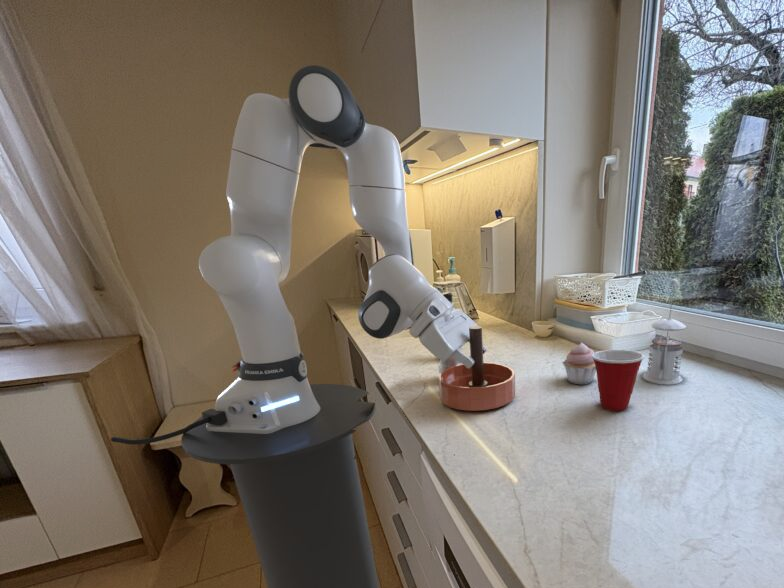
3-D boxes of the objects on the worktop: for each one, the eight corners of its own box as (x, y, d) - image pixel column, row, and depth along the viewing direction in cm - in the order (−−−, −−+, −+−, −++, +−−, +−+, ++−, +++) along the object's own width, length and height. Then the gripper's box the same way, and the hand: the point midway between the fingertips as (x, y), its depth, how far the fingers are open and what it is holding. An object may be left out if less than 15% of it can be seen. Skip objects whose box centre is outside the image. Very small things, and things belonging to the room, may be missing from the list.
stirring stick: (468, 399, 93) (464, 330, 87) (469, 391, 97) (465, 325, 91) (488, 398, 93) (485, 329, 88) (488, 391, 97) (485, 324, 92)
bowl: (437, 415, 87) (434, 389, 85) (444, 386, 103) (442, 363, 101) (517, 412, 88) (517, 386, 86) (512, 383, 104) (512, 361, 102)
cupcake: (586, 372, 111) (588, 336, 107) (605, 383, 103) (608, 345, 99) (555, 377, 108) (556, 340, 104) (573, 389, 100) (574, 349, 96)
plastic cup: (621, 393, 97) (625, 344, 93) (649, 411, 87) (655, 357, 83) (580, 399, 94) (582, 349, 89) (604, 419, 84) (608, 363, 80)
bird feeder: (684, 374, 108) (698, 277, 99) (679, 389, 98) (693, 283, 89) (646, 369, 112) (656, 275, 103) (637, 383, 103) (647, 281, 94)
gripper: (442, 314, 101) (482, 354, 103) (405, 335, 83) (454, 383, 84) (458, 296, 99) (499, 338, 100) (423, 313, 80) (474, 364, 81)
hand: (478, 359), depth 92 cm, fingers open, 8 cm apart
